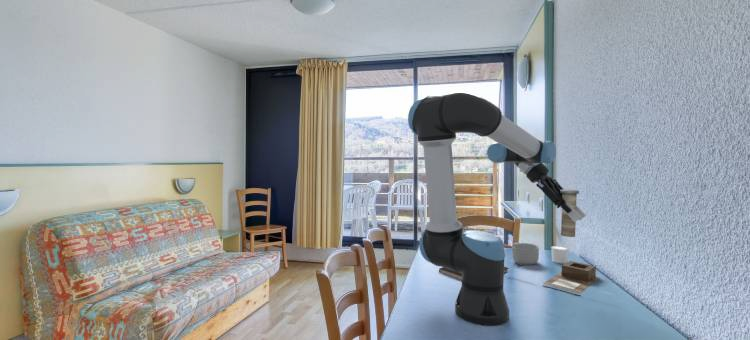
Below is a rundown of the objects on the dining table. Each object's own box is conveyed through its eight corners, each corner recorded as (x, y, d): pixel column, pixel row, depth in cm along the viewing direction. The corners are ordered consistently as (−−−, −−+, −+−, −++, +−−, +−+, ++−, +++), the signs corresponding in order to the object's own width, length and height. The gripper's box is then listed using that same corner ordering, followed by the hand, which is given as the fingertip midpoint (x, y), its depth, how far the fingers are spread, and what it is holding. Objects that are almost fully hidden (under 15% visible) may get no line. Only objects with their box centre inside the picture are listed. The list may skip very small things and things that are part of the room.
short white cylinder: (548, 261, 158) (548, 245, 157) (564, 261, 157) (565, 246, 156) (553, 265, 151) (554, 249, 151) (571, 266, 150) (571, 250, 150)
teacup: (543, 268, 147) (543, 249, 147) (516, 267, 147) (517, 248, 147) (529, 258, 161) (529, 241, 161) (505, 258, 161) (505, 240, 161)
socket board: (579, 296, 118) (580, 281, 117) (542, 286, 126) (542, 272, 126) (600, 280, 133) (600, 267, 133) (565, 272, 142) (566, 260, 142)
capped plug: (574, 238, 121) (575, 191, 120) (556, 235, 125) (557, 190, 125) (579, 235, 125) (581, 190, 124) (562, 233, 129) (563, 189, 129)
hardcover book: (508, 273, 142) (508, 267, 142) (471, 285, 128) (471, 279, 128) (475, 263, 155) (475, 258, 154) (438, 273, 141) (439, 267, 141)
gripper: (535, 175, 141) (580, 222, 130) (515, 176, 130) (562, 228, 118) (550, 162, 137) (597, 209, 126) (531, 162, 125) (581, 214, 114)
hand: (580, 218), depth 122 cm, fingers closed on capped plug, 4 cm apart
